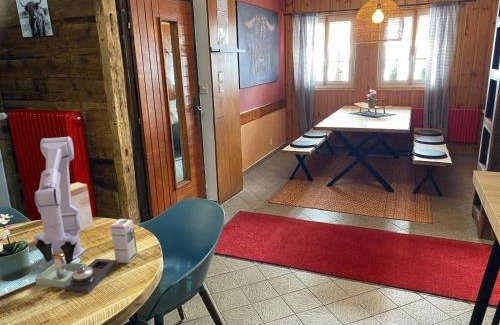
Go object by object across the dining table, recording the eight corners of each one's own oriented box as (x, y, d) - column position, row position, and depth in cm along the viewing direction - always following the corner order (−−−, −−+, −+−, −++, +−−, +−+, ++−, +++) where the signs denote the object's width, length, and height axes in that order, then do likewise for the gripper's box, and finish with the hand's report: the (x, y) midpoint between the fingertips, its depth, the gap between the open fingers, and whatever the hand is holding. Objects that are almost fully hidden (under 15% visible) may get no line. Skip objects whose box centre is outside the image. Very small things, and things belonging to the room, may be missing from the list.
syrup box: (130, 263, 136) (125, 225, 132) (115, 262, 138) (109, 224, 134) (137, 255, 142) (133, 219, 138) (123, 254, 143) (118, 218, 139)
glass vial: (54, 277, 128) (50, 256, 125) (61, 272, 130) (57, 251, 128) (62, 279, 127) (59, 257, 125) (69, 273, 130) (66, 252, 128)
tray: (36, 285, 125) (35, 278, 124) (59, 267, 135) (58, 261, 134) (66, 288, 122) (64, 281, 122) (86, 270, 133) (85, 263, 132)
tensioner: (65, 291, 121) (62, 274, 119) (97, 263, 137) (94, 248, 135) (88, 293, 119) (85, 276, 118) (117, 265, 135) (115, 250, 134)
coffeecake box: (83, 223, 172) (77, 181, 167) (94, 226, 168) (87, 184, 163) (52, 236, 159) (44, 192, 154) (63, 240, 156) (55, 195, 151)
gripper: (24, 227, 121) (31, 265, 125) (64, 230, 118) (71, 269, 122) (40, 218, 128) (47, 255, 132) (78, 221, 125) (84, 258, 129)
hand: (59, 261), depth 127 cm, fingers open, 7 cm apart
